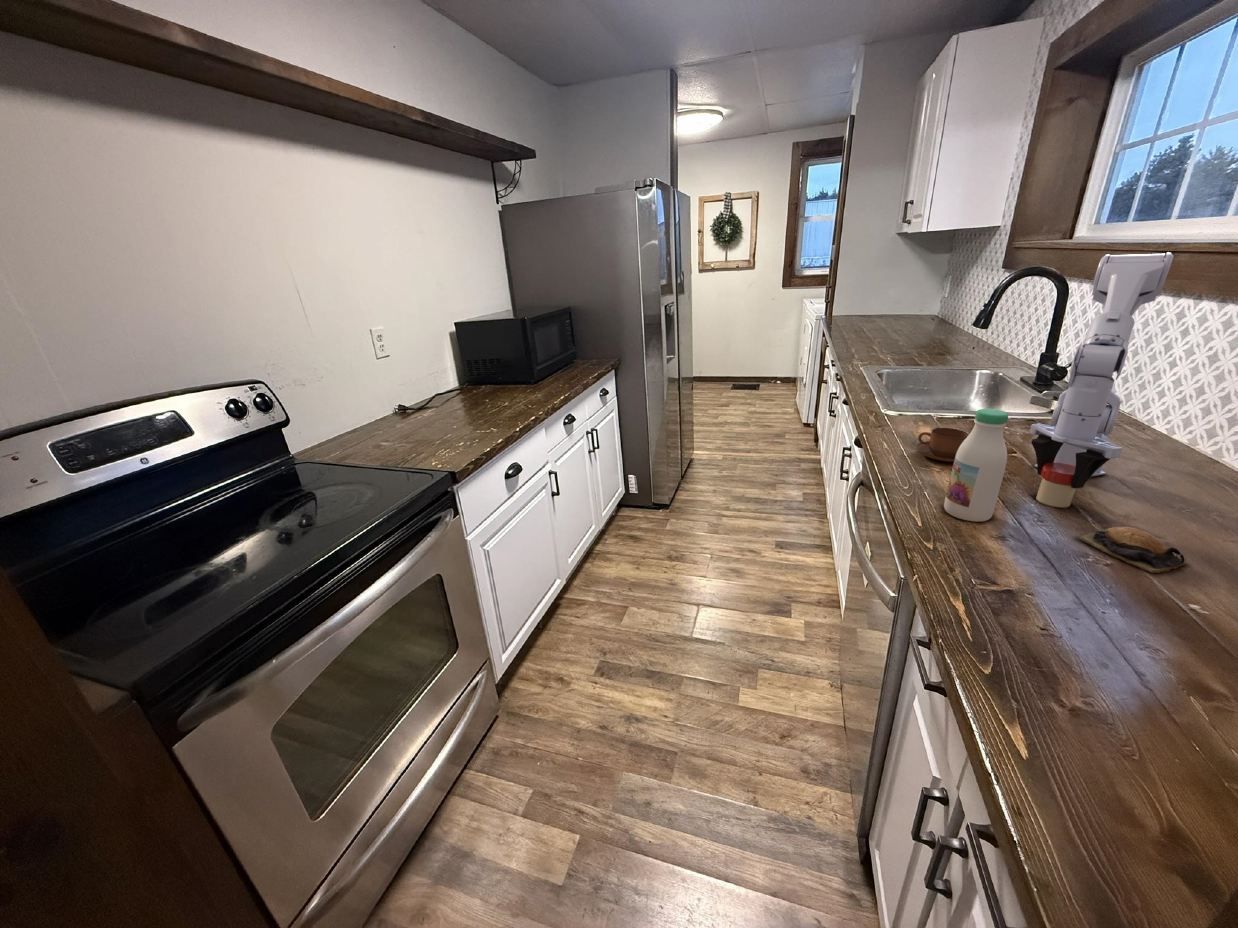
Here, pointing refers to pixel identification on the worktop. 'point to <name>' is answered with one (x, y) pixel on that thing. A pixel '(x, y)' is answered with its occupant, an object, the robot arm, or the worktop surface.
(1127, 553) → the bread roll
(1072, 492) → the honey jar
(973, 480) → the milk bottle
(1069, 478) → the honey lid
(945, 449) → the cup and saucer
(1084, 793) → the worktop surface
